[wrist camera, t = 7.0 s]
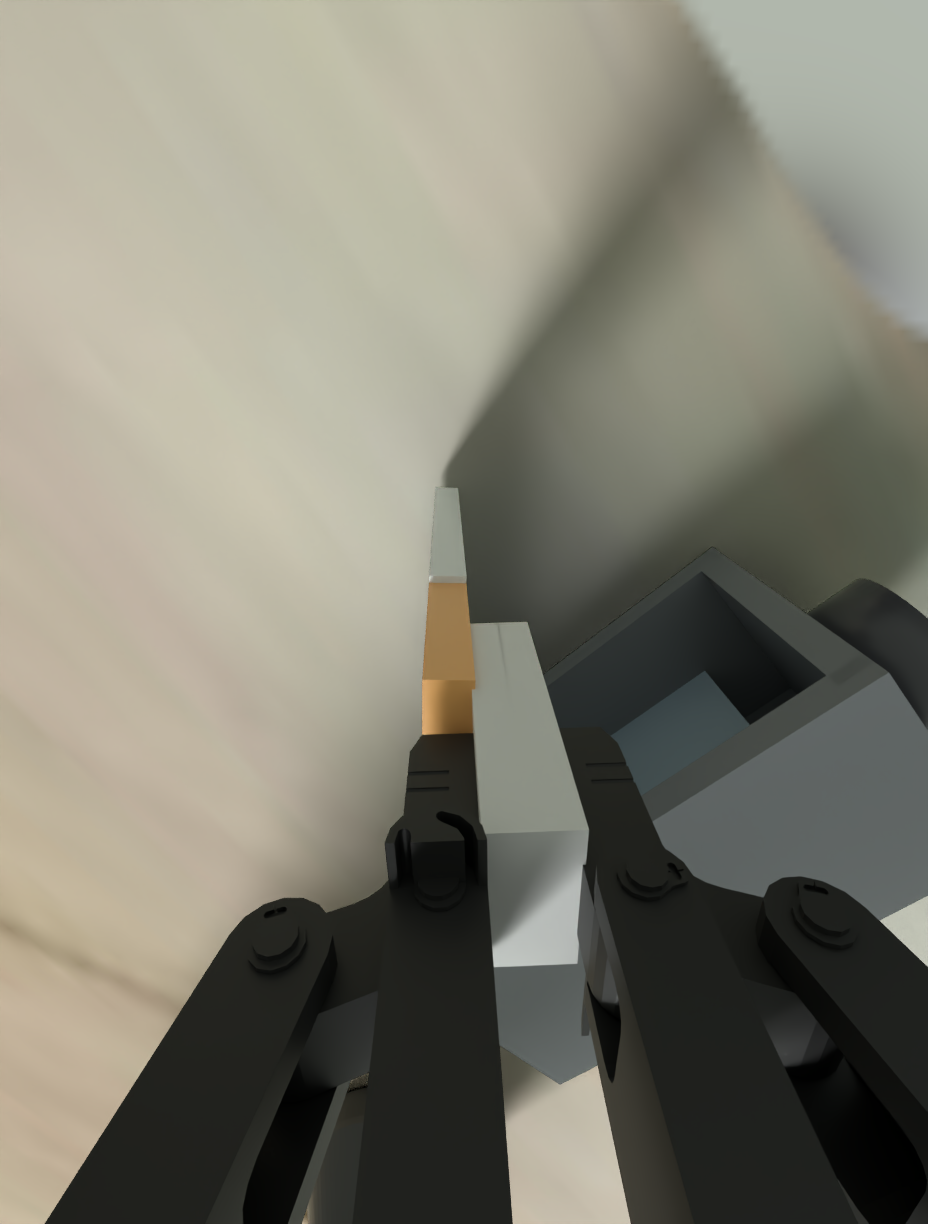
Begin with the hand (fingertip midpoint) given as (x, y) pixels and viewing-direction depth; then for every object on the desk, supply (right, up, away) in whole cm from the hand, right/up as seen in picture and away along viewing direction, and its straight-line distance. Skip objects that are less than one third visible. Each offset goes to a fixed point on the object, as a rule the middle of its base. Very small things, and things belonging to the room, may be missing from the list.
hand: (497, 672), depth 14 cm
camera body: (+8, -4, +17) cm, 20 cm away
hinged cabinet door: (-2, 0, +14) cm, 14 cm away
